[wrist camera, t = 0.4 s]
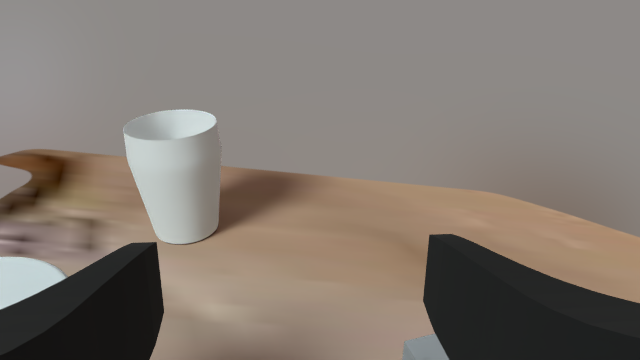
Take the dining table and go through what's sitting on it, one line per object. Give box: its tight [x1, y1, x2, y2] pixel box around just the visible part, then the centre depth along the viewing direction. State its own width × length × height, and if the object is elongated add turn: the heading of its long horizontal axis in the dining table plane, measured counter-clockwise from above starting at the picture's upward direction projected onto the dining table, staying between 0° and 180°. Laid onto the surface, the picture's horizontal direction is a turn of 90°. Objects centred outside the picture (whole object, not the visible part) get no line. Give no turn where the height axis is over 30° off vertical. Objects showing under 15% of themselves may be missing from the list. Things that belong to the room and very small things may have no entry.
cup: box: [123, 110, 221, 244], centre depth 46 cm, size 9×9×12 cm
